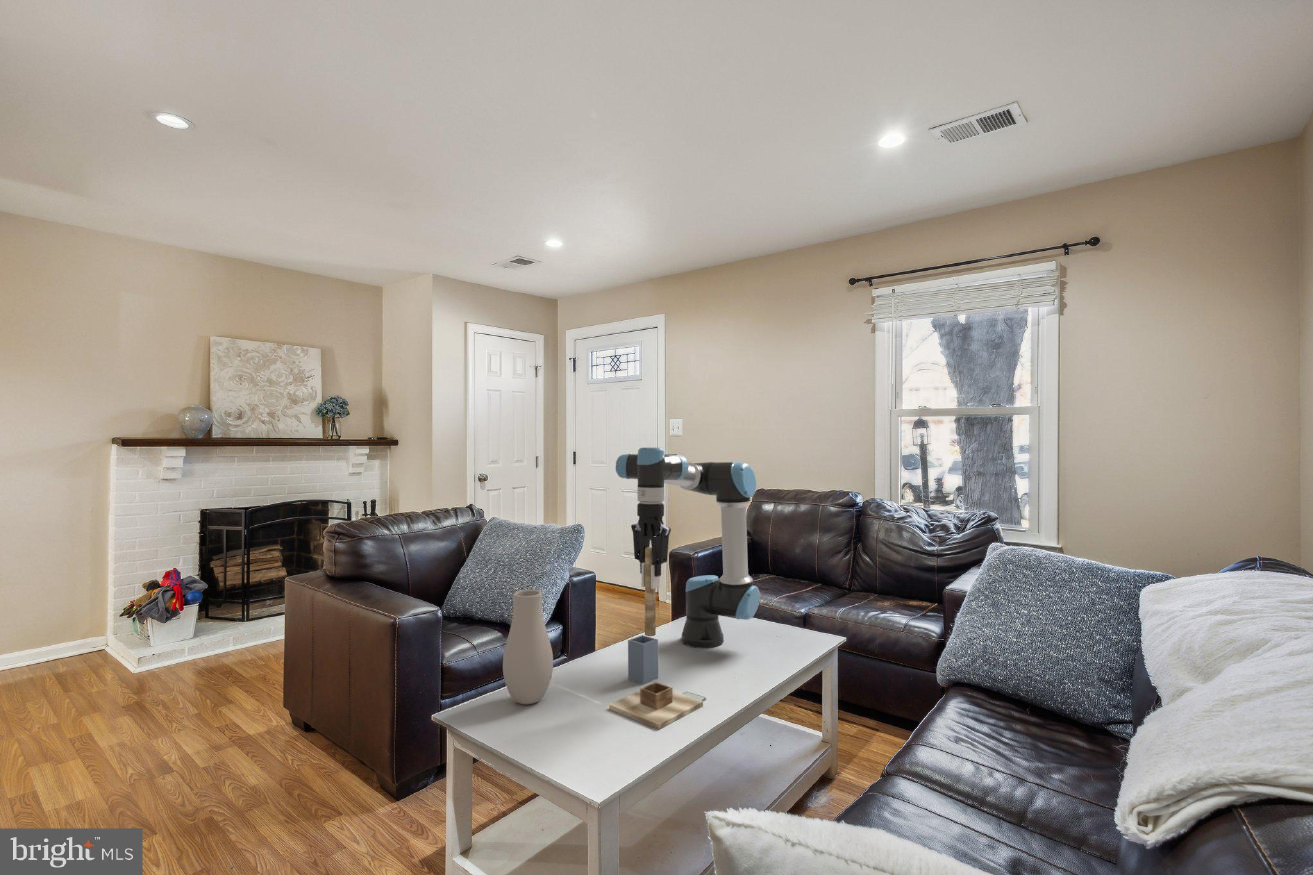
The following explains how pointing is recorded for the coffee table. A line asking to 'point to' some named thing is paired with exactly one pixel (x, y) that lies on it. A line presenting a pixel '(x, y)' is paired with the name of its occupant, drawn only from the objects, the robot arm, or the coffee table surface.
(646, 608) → the dowel
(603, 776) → the coffee table surface
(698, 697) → the smartphone
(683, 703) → the board with square socket
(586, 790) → the coffee table surface
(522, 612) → the vase
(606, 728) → the coffee table surface
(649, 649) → the grey square tube
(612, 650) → the coffee table surface
